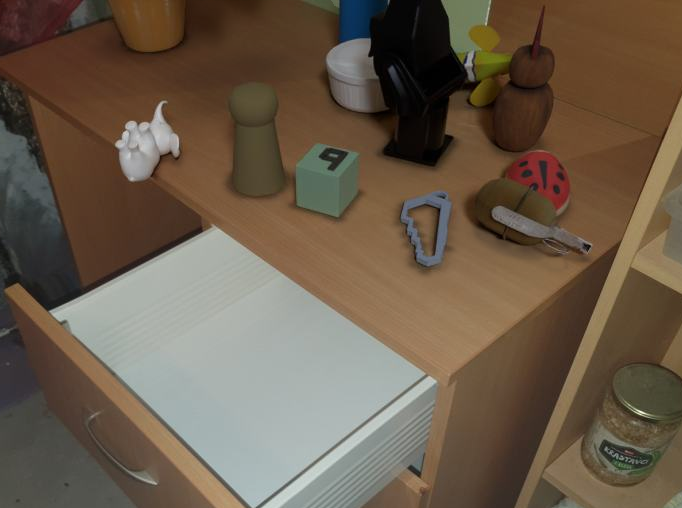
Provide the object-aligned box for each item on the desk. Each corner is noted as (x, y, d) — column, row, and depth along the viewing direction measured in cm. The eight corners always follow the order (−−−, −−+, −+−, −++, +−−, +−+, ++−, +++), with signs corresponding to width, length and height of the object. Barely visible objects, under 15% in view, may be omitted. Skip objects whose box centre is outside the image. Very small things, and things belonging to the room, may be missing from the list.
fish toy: (515, 102, 85) (536, 100, 94) (514, 14, 82) (536, 21, 91) (395, 114, 92) (425, 112, 102) (391, 34, 90) (423, 39, 99)
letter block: (338, 217, 76) (338, 175, 72) (296, 206, 78) (294, 163, 74) (358, 193, 79) (359, 150, 75) (317, 182, 81) (316, 140, 77)
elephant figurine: (131, 81, 84) (149, 124, 90) (88, 154, 79) (109, 195, 84) (188, 85, 82) (203, 128, 87) (148, 160, 77) (166, 202, 82)
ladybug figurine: (560, 168, 80) (569, 141, 77) (574, 228, 74) (585, 200, 71) (498, 165, 80) (506, 138, 78) (507, 224, 74) (515, 196, 71)
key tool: (393, 268, 71) (445, 269, 69) (392, 261, 70) (445, 261, 69) (405, 198, 79) (452, 197, 77) (405, 191, 78) (452, 190, 77)
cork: (293, 188, 80) (290, 94, 72) (242, 201, 79) (233, 107, 71) (274, 161, 84) (269, 70, 76) (225, 173, 83) (215, 81, 75)
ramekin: (343, 124, 89) (344, 84, 85) (313, 85, 97) (313, 46, 93) (426, 108, 91) (431, 67, 87) (391, 70, 99) (393, 31, 95)
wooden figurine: (506, 124, 88) (531, -4, 77) (551, 138, 85) (583, 7, 75) (479, 148, 84) (501, 17, 74) (524, 164, 82) (555, 30, 71)
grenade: (472, 213, 76) (578, 268, 73) (456, 225, 71) (569, 283, 68) (498, 162, 73) (610, 216, 70) (483, 170, 68) (603, 228, 65)
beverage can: (384, 48, 104) (390, -42, 95) (384, 69, 99) (390, -24, 91) (339, 48, 105) (340, -42, 96) (337, 68, 100) (338, -24, 91)
